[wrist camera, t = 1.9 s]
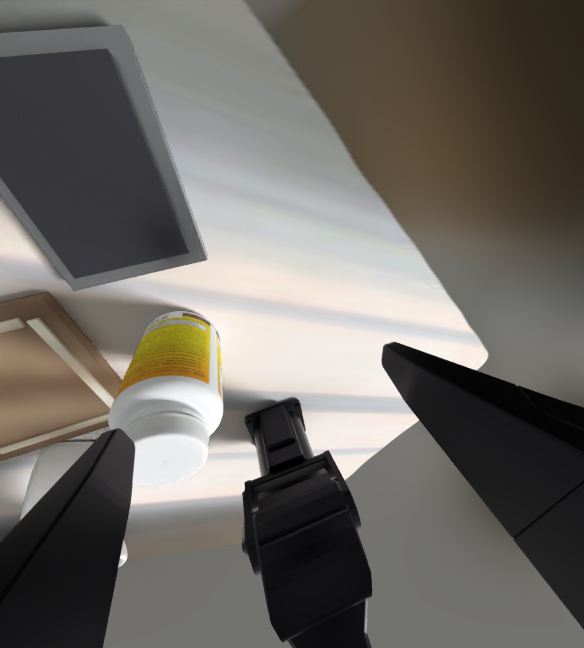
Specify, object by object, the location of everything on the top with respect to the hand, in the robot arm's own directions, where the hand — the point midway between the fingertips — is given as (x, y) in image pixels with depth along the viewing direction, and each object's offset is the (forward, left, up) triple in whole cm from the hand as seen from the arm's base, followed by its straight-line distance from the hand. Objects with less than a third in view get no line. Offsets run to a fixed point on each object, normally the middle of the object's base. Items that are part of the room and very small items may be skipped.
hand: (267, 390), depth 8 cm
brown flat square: (-4, +18, -12) cm, 21 cm away
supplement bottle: (-4, +6, -12) cm, 14 cm away
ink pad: (+7, +6, -12) cm, 15 cm away
